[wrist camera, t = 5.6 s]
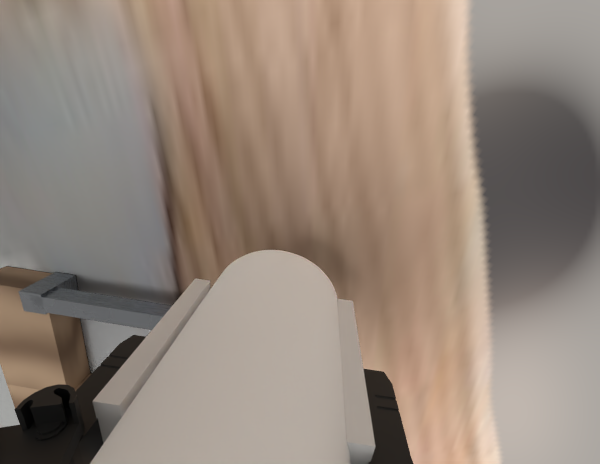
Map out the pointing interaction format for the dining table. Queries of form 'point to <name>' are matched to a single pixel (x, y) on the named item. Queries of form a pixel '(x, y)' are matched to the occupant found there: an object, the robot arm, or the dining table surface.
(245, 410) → the can
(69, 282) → the cross rail
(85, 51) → the dining table surface
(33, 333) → the wooden frame board
